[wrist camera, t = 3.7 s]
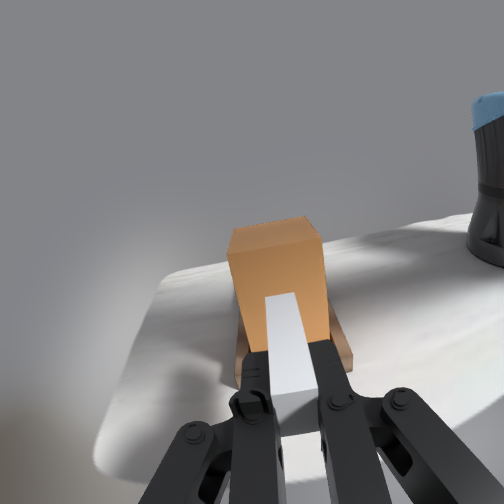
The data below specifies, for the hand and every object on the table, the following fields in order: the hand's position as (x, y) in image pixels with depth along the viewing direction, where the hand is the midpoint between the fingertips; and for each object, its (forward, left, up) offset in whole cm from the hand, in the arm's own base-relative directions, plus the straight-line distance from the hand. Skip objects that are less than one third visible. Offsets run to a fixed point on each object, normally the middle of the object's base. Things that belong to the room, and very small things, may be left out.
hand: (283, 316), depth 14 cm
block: (+3, -6, -7) cm, 10 cm away
